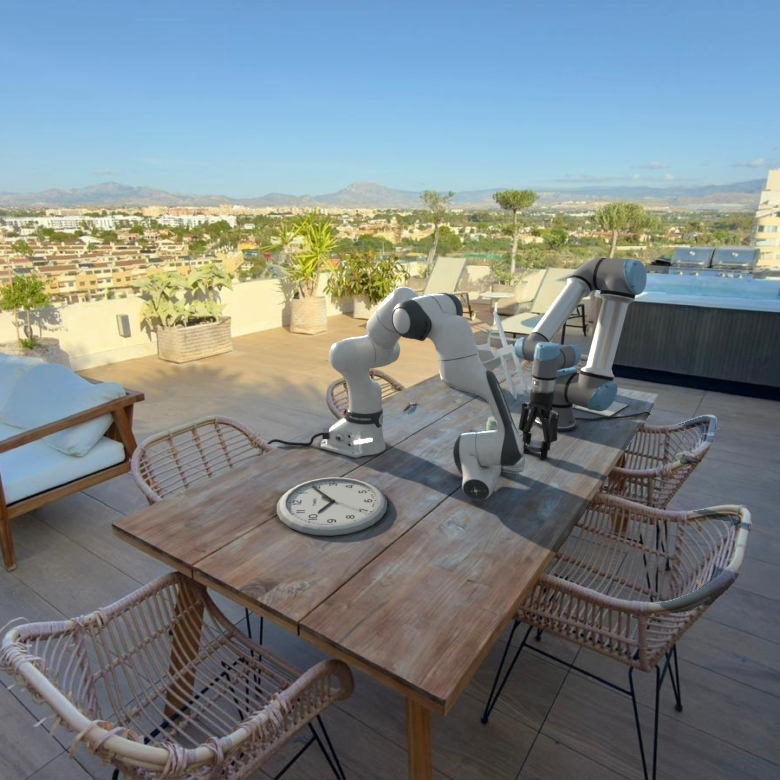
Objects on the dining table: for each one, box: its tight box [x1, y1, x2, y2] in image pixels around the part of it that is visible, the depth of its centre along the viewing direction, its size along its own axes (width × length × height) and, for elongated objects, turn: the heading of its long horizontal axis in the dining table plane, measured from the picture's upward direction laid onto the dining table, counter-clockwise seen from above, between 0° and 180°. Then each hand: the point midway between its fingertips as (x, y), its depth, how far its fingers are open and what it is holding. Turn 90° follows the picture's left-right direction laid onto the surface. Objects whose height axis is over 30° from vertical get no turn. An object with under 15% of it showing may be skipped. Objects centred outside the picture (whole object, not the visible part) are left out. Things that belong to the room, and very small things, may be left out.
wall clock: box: [276, 476, 388, 537], centre depth 142 cm, size 30×2×30 cm
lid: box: [525, 439, 542, 453], centre depth 176 cm, size 7×7×2 cm
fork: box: [403, 396, 419, 412], centre depth 222 cm, size 3×16×2 cm, turn 160°
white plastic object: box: [438, 310, 530, 400], centre depth 245 cm, size 37×45×31 cm
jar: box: [485, 415, 498, 431], centre depth 164 cm, size 6×6×17 cm
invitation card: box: [573, 400, 629, 417], centre depth 226 cm, size 21×1×15 cm
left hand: (494, 448), depth 165 cm, fingers closed on jar, 5 cm apart
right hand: (534, 455), depth 177 cm, fingers closed on lid, 6 cm apart
